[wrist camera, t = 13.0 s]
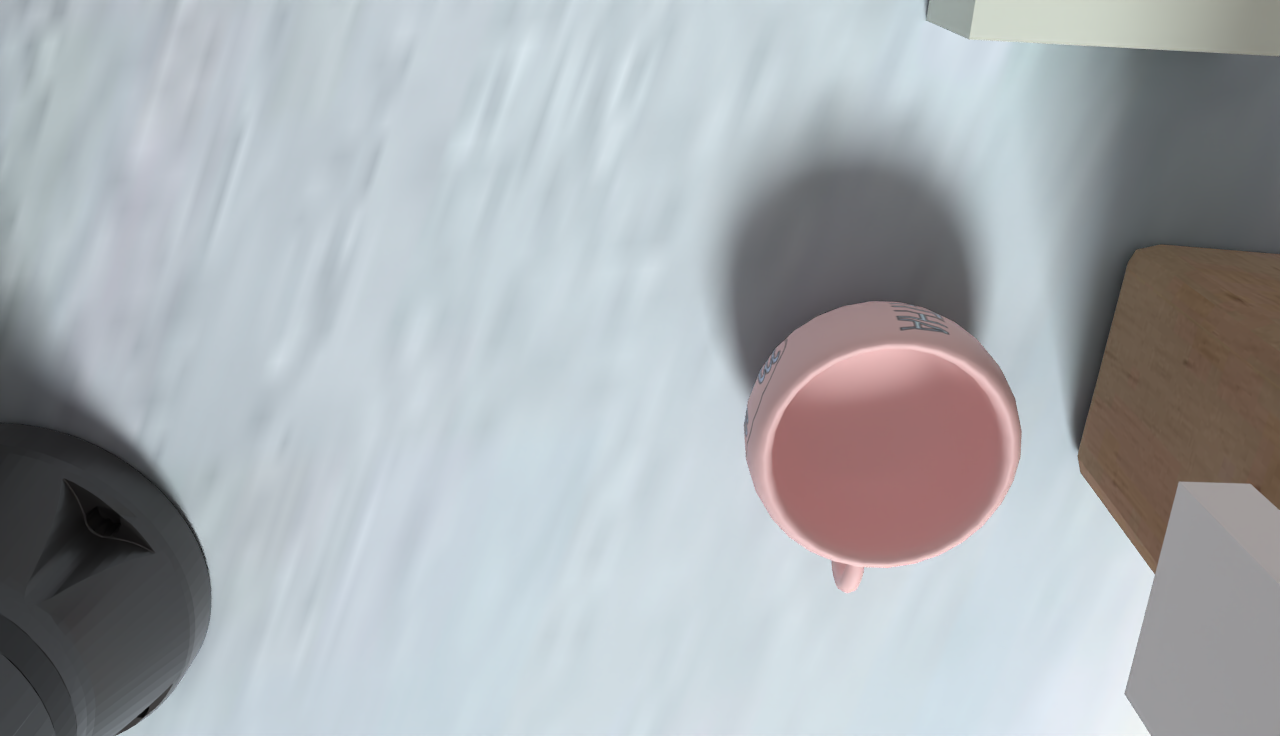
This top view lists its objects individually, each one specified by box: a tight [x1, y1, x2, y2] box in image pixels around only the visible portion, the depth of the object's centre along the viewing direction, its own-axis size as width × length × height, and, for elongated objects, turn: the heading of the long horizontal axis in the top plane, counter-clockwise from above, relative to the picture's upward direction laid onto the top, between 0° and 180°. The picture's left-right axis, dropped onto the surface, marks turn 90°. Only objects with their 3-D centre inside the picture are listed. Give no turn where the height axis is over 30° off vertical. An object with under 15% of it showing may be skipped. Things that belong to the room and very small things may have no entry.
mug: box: [744, 301, 1022, 593], centre depth 42 cm, size 12×10×6 cm
